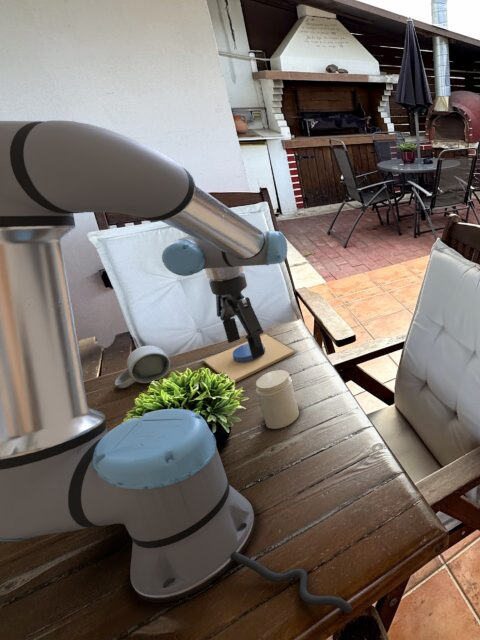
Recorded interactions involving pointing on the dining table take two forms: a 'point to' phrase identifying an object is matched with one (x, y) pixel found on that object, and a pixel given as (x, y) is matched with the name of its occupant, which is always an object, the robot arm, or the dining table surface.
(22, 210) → the robot arm
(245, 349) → the lid
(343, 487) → the dining table surface
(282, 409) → the jar
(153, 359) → the ceramic mug
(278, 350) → the mat
